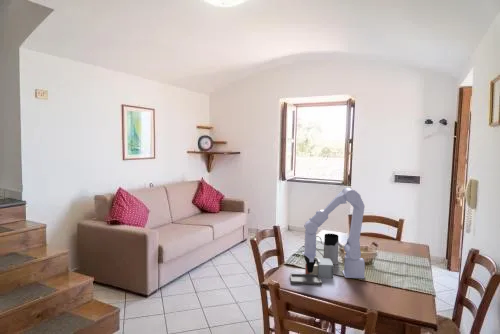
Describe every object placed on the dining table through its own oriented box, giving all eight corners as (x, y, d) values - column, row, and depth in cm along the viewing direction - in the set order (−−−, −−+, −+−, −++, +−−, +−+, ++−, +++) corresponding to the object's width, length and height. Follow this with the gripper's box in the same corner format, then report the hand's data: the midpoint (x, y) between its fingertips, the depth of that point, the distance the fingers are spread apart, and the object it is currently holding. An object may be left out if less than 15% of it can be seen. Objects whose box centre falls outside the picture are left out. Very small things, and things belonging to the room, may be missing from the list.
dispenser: (329, 270, 167) (330, 257, 166) (333, 277, 158) (333, 264, 157) (316, 270, 167) (316, 256, 166) (318, 277, 158) (319, 263, 157)
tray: (318, 277, 158) (319, 274, 158) (321, 285, 149) (321, 282, 149) (290, 276, 159) (290, 273, 159) (291, 284, 150) (291, 281, 150)
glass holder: (338, 265, 174) (339, 238, 172) (311, 262, 178) (312, 235, 177) (339, 259, 182) (340, 234, 181) (313, 256, 186) (314, 231, 185)
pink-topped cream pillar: (325, 272, 164) (325, 264, 163) (325, 275, 161) (326, 266, 161) (305, 272, 164) (305, 263, 164) (305, 274, 162) (306, 265, 161)
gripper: (301, 239, 169) (300, 264, 170) (303, 249, 155) (302, 276, 156) (314, 240, 169) (313, 265, 170) (318, 249, 154) (317, 276, 155)
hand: (309, 270), depth 163 cm, fingers open, 3 cm apart
